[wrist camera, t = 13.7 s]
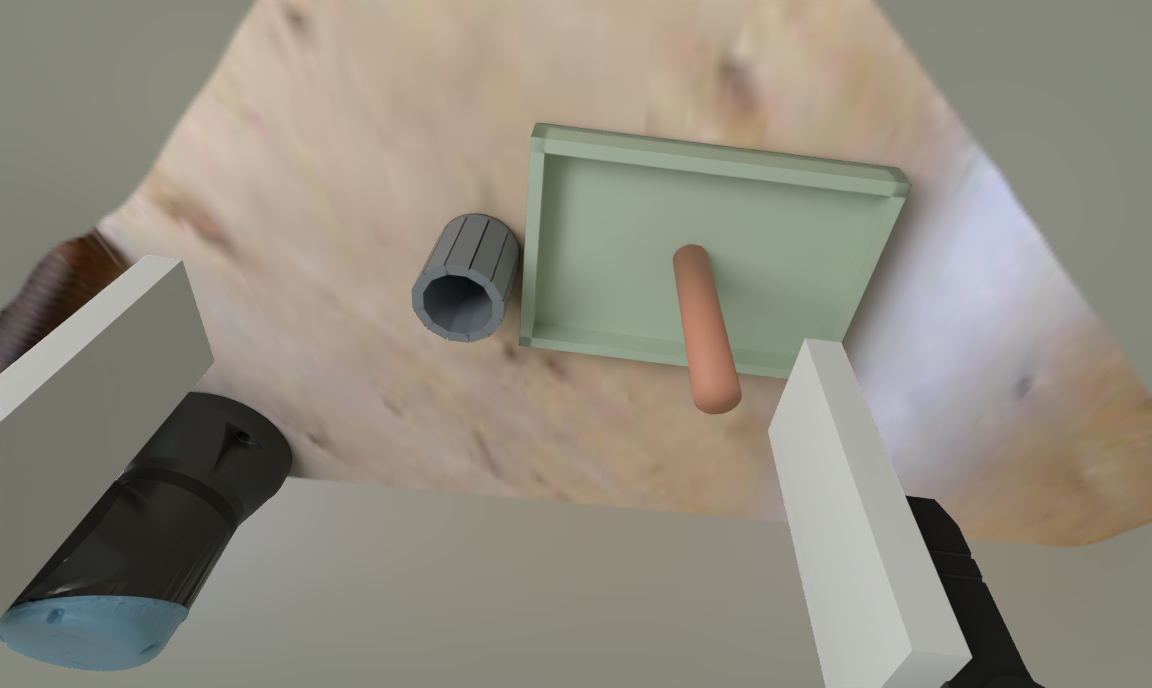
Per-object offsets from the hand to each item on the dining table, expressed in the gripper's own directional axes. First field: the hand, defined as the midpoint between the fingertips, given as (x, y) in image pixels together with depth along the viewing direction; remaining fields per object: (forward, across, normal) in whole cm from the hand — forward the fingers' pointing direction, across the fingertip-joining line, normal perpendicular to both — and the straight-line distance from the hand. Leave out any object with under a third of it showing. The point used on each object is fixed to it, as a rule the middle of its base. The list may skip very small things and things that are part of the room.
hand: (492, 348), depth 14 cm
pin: (+34, +11, -16) cm, 39 cm away
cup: (+35, -7, -18) cm, 40 cm away
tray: (+35, +10, -16) cm, 39 cm away
